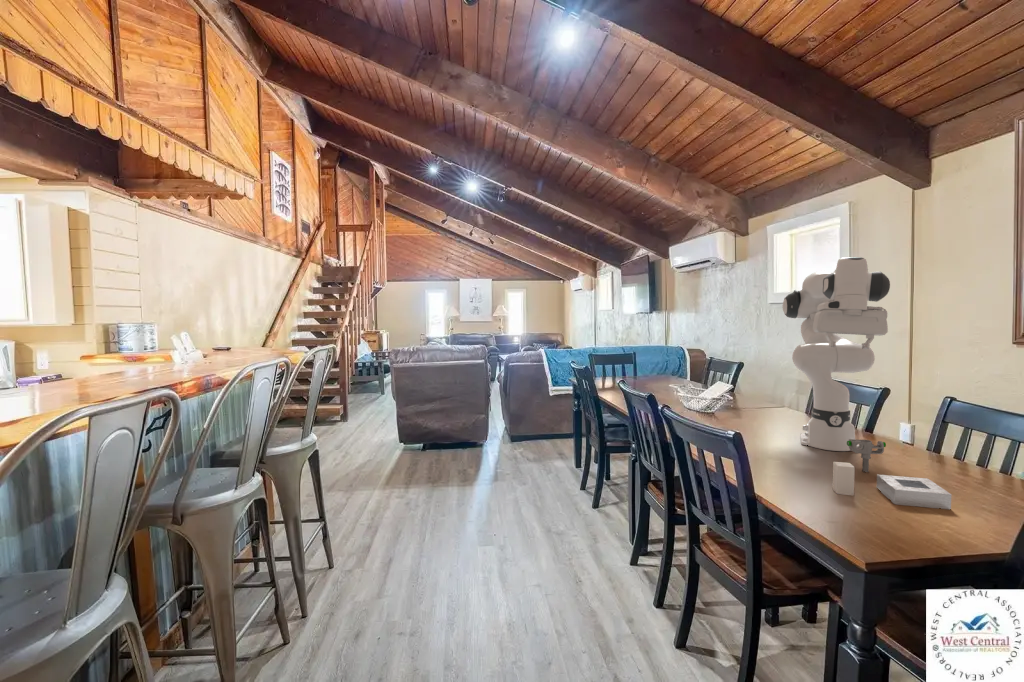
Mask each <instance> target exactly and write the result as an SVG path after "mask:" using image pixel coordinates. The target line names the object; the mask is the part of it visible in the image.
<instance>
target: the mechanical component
mask: <svg viewBox="0 0 1024 682" xmlns="http://www.w3.org/2000/svg"><path fill="white" fill-rule="evenodd" d="M847 445H848V446H849V449H850V451H852V452H853V453H855V454H860V458H861V459H862V464H861V465H862V466H861V468H862V470H861V471H862V472H864V471H865V472H868V473H869V469H870V468H869V466H870V465H869V463H870V459H872V457H871V455H883V454H884V451H885V448H886V446H887V444H886V442H885V441H881V440H878V441H877V443H876V445H874V444H873V441H872V440H869V439H855V440H854V439H849V441H847ZM857 445H859V447H857ZM873 449H876V450H873ZM865 472H864V473H865Z"/></svg>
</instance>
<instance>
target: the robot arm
mask: <svg viewBox="0 0 1024 682" xmlns="http://www.w3.org/2000/svg"><path fill="white" fill-rule="evenodd" d="M868 267H869V266H868V262H867V259H866V258H865V257H861V256H859V257H858V256H853V257H852V256H851V257H848V256H847V257H841V258H839V259H838V260H837V263H836V268H835V269H834V271H833V272H830V271H816V272H813V273H811V274H809V275H808V276H807V277H805V278H804V279H803V282H802V286H801V287H802V288H801V290H797V289H795V290H793V292H791V293H789V294H787V295H786V296H785V297H784V299H783V301H782V311H783V313H784V315H785V316H786V318H790V319H804V320H803V321H802V323H801V325H800V333H801V334H800V335H801V336H802V339H803V342H804V344H803V343H802V344H799V345H797V346H796V347H795V349H794V350H793V352H792V362H793V364H794V366H795V367H796V368H797V369H798V370H800V371H801V372H802V373H803V374H804V375H805V376H806V377H807V378H808V380H809V381H810V383H811V387H812V390H813V391H812V393H813V394H812V395H813V407H811V408H812V409H811V415H810V416H811V418H810V419H809V420H808V422H807V424H802V431H803V432H805V433H800V444H801V445H803V446H807V445H808V446H809V447H811V448H816V449H820V450H825V451H833V452H849V451H851V450H850V449H849V446H848V445H847V441H849V439H854V440H856V431H855V425H854V424H853V423H851V415H852V414H851V410H850V390H849V388H848V387H847V386H846V385H844V384H843V383H840V382H838V381H837V380H834V379H833V377H832V373H848V374H849V373H850V374H851V373H852V374H856V373H861V372H866V371H869V370H870V369H872V367H873V365H874V363H875V359H876V358H875V357H876V356H875V354H874V351H873V349H872V348H871V345H870V344H871V343H872V341H873V340H874V339H875V336H877V337H880V336H882V337H883V336H885V335H886V334H887V333H888V332H889V331H888V330H889V329H888V321H887V319H888V311H887V310H886V309H885V308H883V307H882V306H872V305H871V306H869V305H868V302H876V303H877V302H879V301H881V300H882V299H884V298H885V297H886V296H887V295H888V293H889V292H890V288H891V281H890V278H889V277H888V276H887V275H886V274H885V273H883V272H882V271H872V272H871V271H868V270H869V269H868ZM841 334H842V335H857V336H865V339H867V340H865V342H863V343H859V342H855V341H851V340H850V339H848V338H845V337H843V336H841ZM808 446H807V447H808ZM857 447H859V444H858V445H857Z"/></svg>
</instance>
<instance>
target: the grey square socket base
mask: <svg viewBox="0 0 1024 682" xmlns="http://www.w3.org/2000/svg"><path fill="white" fill-rule="evenodd" d="M877 488H878V489H879V490H880V491H881V492H880V491H879V492H880V493H881V494H882V495H884V496H885V497H886V498H887V499H888V500H889V499H890V500H891V501H890V500H889V501H890V502H891V503H892V504H894V505H900V506H911V507H921V508H931V509H939V508H941V510H950V509H952V495H953V494H952V493H950V492H949V491H948V490H946V489H944V488H943V487H941V486H939V484H937V483H935V482H934V481H933V480H931V479H929V478H925V477H914V476H913V477H911V476H902V475H901V476H899V475H890V474H889V475H887V474H876V489H877ZM878 489H877V490H878Z"/></svg>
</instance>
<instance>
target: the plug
mask: <svg viewBox="0 0 1024 682" xmlns="http://www.w3.org/2000/svg"><path fill="white" fill-rule="evenodd" d="M832 462H833V464H832V466H833V467H832V490H833V491H834V493H836V495H844V496H846V495H847V496H854V495H855V489H854V488H855V470H856V469H855V466H854V465H853V464H851V463H850V462H844V461H843V462H841V461H832Z"/></svg>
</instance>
